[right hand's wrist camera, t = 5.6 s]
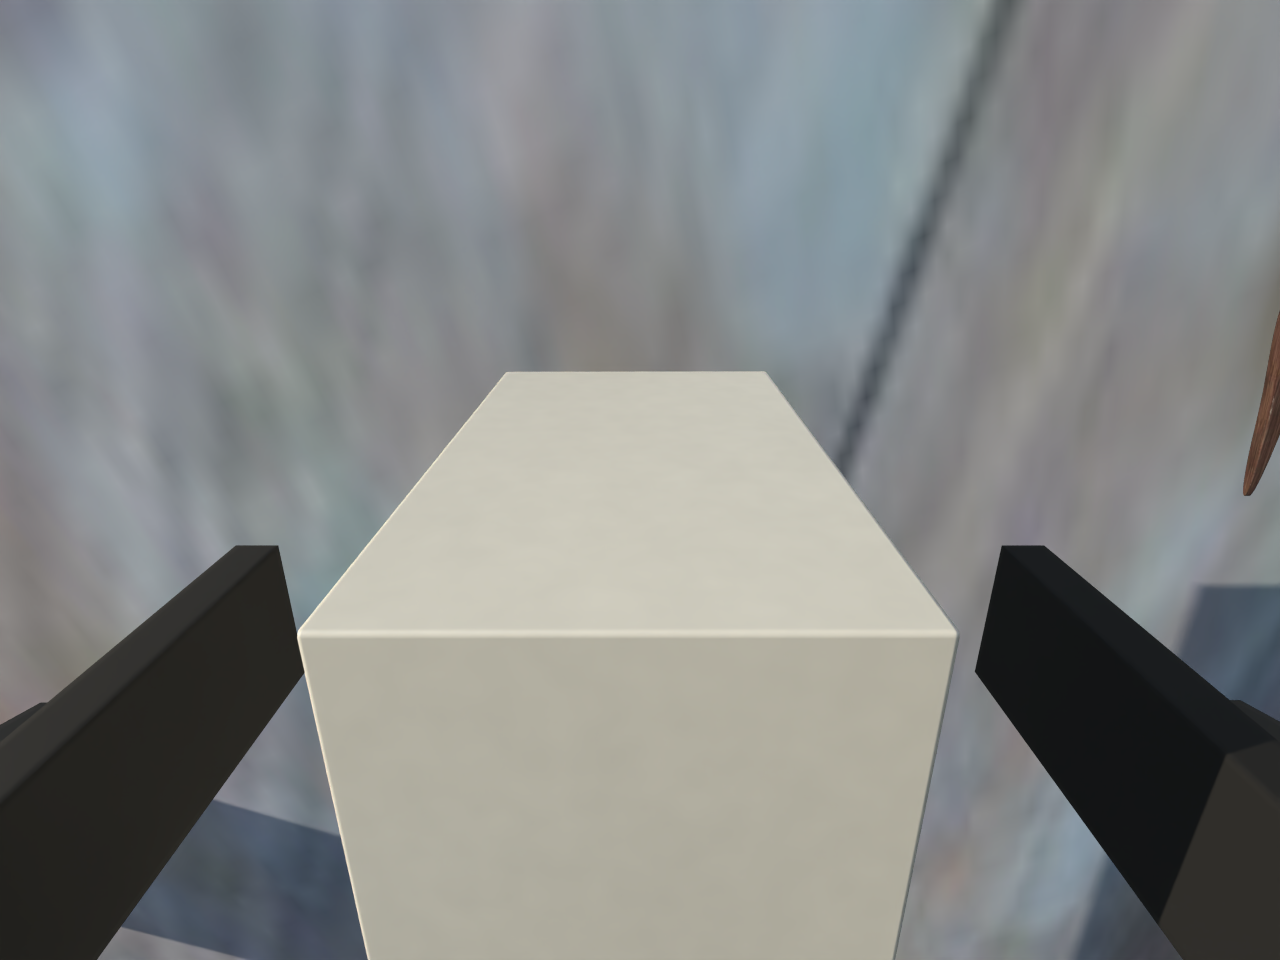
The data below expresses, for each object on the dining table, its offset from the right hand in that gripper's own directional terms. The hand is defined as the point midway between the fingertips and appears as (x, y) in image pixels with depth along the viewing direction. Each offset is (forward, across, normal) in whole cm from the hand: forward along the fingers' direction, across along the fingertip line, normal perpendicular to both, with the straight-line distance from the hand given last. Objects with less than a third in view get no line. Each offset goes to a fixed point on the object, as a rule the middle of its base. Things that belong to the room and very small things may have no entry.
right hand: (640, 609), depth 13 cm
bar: (+3, 0, -9) cm, 9 cm away
